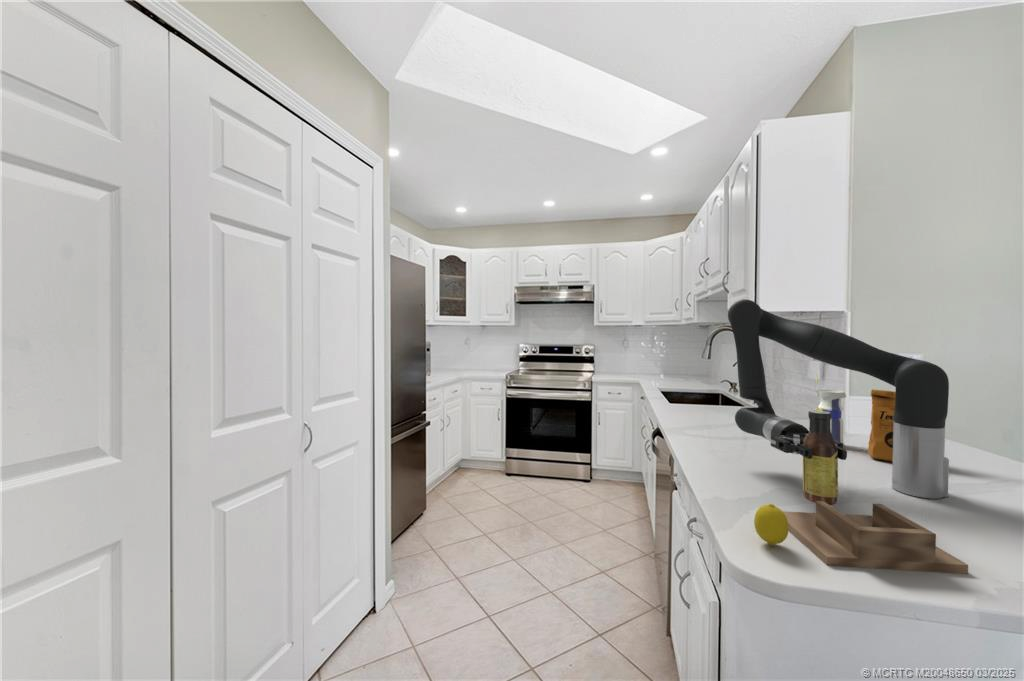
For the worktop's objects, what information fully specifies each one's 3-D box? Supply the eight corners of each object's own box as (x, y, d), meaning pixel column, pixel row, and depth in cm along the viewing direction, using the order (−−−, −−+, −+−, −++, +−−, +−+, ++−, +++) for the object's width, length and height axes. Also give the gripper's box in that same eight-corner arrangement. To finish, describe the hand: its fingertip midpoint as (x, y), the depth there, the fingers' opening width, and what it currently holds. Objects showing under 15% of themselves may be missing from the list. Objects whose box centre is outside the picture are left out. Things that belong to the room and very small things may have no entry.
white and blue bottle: (823, 448, 140) (825, 376, 140) (810, 441, 149) (811, 373, 148) (850, 449, 139) (852, 376, 138) (835, 442, 147) (836, 373, 147)
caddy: (884, 523, 87) (884, 492, 86) (968, 573, 69) (969, 535, 69) (773, 517, 89) (774, 488, 89) (826, 565, 71) (827, 528, 71)
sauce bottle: (844, 507, 87) (846, 415, 86) (811, 505, 88) (813, 414, 88) (827, 495, 93) (829, 409, 93) (796, 492, 95) (798, 408, 94)
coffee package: (923, 469, 119) (925, 394, 118) (867, 460, 128) (868, 390, 127) (922, 461, 126) (924, 391, 126) (869, 453, 135) (870, 387, 134)
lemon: (747, 538, 81) (748, 498, 80) (773, 537, 81) (774, 497, 81) (767, 553, 75) (768, 511, 75) (795, 552, 76) (796, 509, 75)
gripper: (756, 419, 105) (792, 436, 89) (816, 420, 104) (864, 438, 87) (755, 447, 106) (791, 470, 89) (815, 449, 104) (863, 473, 87)
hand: (827, 454), depth 88 cm, fingers closed on sauce bottle, 6 cm apart
